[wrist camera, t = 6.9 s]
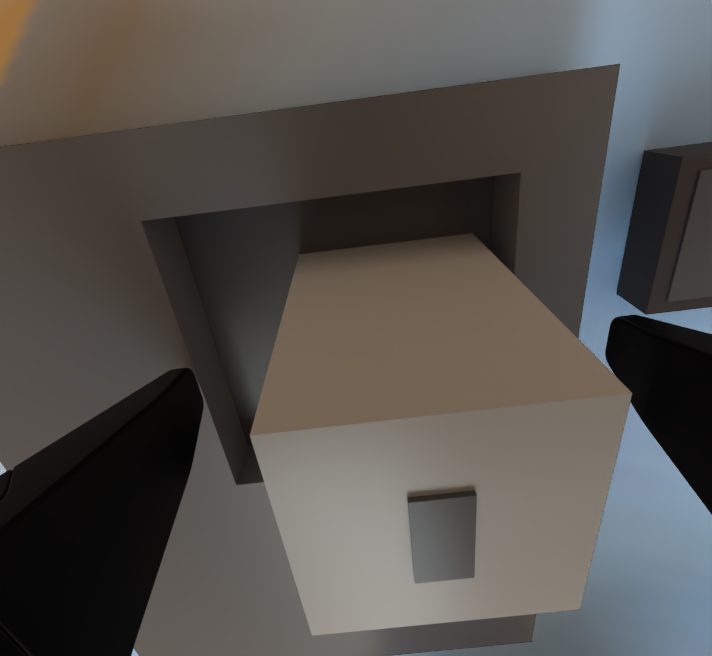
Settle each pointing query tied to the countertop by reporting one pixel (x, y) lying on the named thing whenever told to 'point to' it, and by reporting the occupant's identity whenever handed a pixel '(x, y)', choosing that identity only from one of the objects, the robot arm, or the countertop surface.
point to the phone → (671, 232)
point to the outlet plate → (268, 297)
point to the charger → (432, 439)
